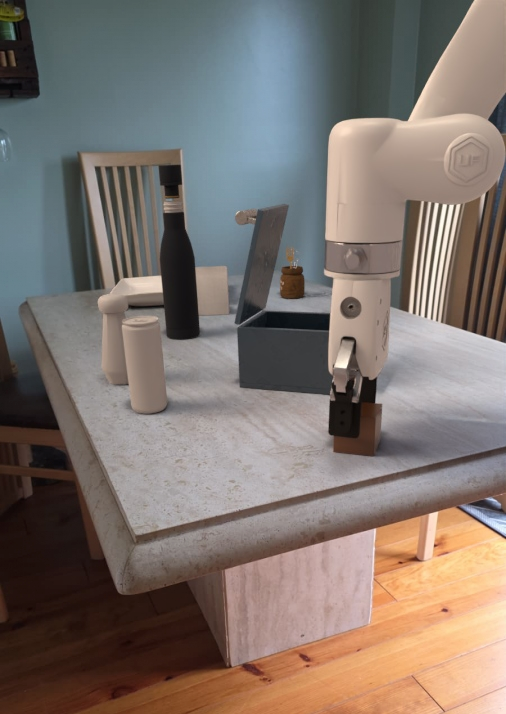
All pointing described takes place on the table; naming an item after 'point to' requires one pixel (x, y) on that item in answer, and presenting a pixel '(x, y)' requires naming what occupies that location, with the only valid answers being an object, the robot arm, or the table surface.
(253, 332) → the bin
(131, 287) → the square plate
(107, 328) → the salt shaker
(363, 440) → the block
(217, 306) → the beige rectangular box
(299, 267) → the utensil holder
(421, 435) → the table surface
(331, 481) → the table surface
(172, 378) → the table surface
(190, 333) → the black water bottle
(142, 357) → the beverage can
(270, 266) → the bin lid
